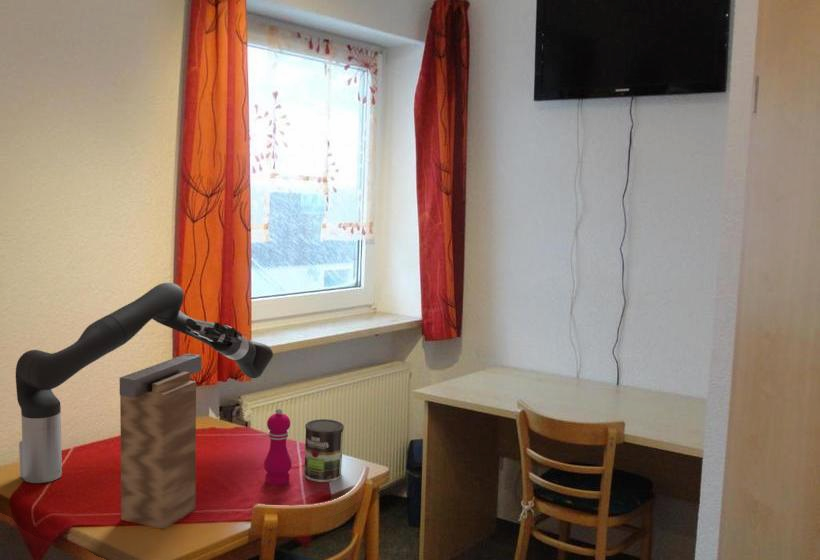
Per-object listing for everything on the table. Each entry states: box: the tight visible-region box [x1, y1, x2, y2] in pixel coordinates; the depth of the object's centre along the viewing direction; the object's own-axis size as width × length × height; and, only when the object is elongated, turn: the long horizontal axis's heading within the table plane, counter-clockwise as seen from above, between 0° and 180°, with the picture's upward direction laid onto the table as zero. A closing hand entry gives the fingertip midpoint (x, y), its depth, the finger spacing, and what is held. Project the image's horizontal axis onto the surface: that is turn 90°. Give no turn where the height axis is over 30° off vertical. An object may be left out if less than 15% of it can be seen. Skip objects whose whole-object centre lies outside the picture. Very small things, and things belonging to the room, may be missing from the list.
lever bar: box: [119, 352, 202, 398], centre depth 192 cm, size 4×25×4 cm, turn 160°
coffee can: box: [303, 418, 345, 483], centre depth 223 cm, size 10×10×14 cm
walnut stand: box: [119, 371, 197, 531], centre depth 193 cm, size 12×12×34 cm
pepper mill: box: [263, 407, 293, 486], centre depth 217 cm, size 7×7×20 cm
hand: (201, 323), depth 215 cm, fingers open, 8 cm apart
